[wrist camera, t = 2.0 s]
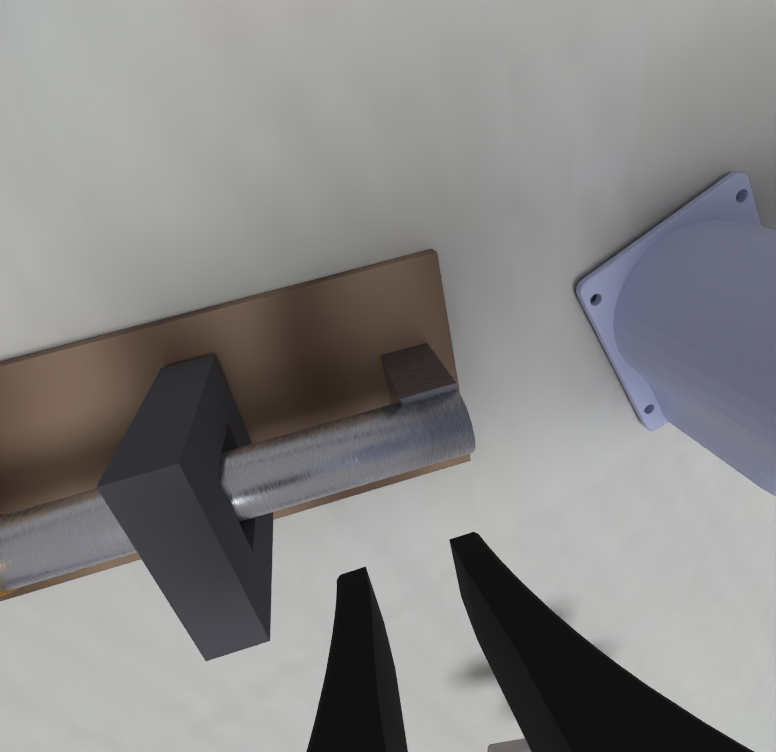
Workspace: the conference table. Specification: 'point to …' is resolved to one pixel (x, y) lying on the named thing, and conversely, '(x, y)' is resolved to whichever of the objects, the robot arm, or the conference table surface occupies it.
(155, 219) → the conference table surface
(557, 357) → the conference table surface
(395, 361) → the steel pipe
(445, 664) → the conference table surface
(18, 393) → the walnut board
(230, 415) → the rubber collar
